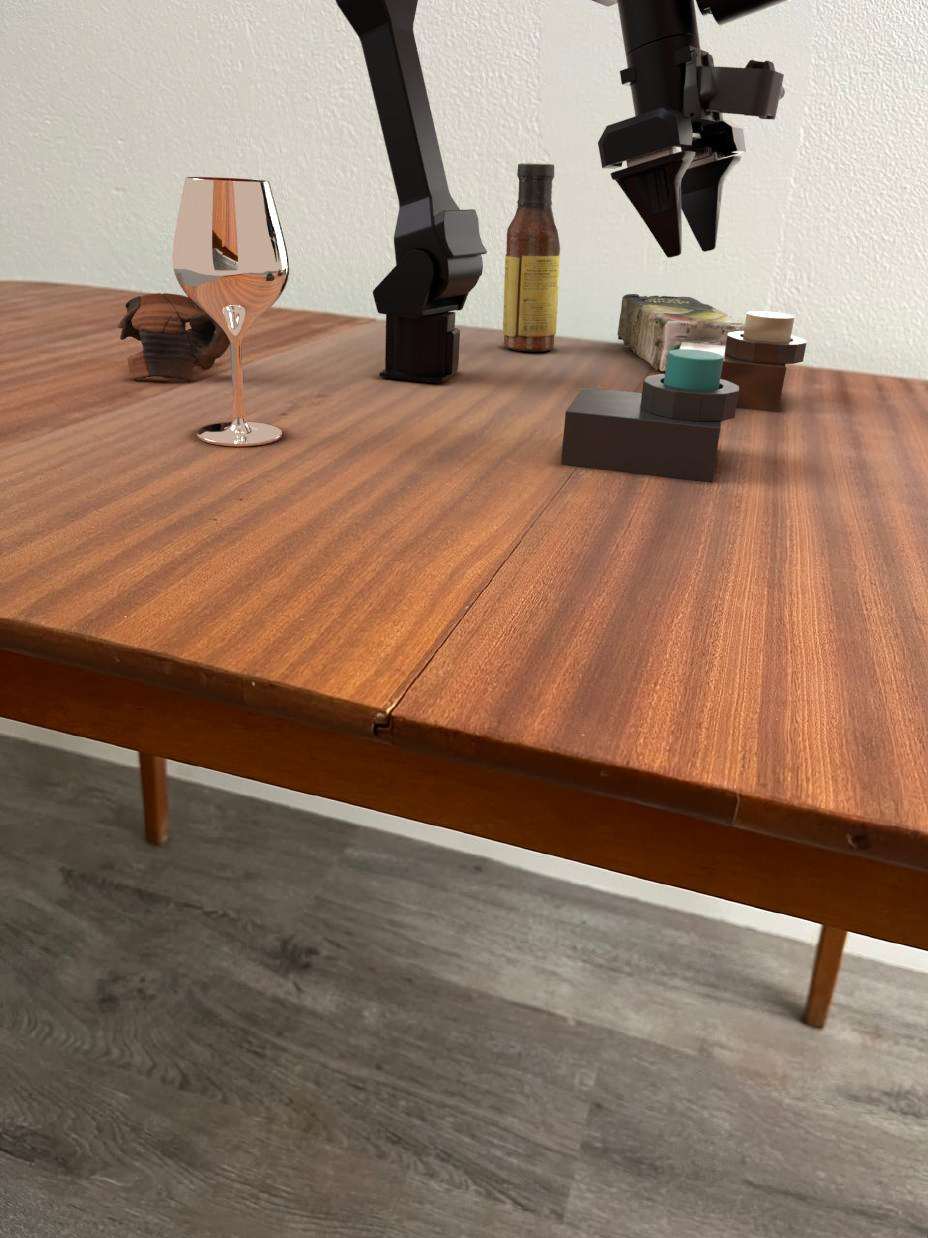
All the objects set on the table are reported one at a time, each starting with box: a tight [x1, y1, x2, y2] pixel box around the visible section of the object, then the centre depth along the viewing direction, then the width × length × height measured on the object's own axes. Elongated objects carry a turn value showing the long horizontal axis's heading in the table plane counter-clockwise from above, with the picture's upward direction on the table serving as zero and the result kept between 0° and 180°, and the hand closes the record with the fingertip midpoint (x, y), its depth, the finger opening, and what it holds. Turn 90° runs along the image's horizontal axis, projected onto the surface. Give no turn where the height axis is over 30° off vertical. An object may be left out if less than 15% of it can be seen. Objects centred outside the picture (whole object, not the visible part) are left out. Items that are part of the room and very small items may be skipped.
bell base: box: [680, 331, 808, 413], centre depth 96 cm, size 12×9×6 cm
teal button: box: [664, 349, 724, 391], centre depth 73 cm, size 4×4×2 cm
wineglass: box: [171, 176, 291, 447], centre depth 72 cm, size 8×8×18 cm
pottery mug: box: [117, 292, 230, 382], centre depth 94 cm, size 12×10×8 cm
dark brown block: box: [560, 373, 739, 483], centre depth 75 cm, size 12×9×6 cm
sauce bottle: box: [502, 162, 561, 353], centre depth 112 cm, size 6×6×20 cm
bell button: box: [743, 310, 795, 342], centre depth 94 cm, size 4×4×3 cm
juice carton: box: [617, 293, 745, 372], centre depth 114 cm, size 20×10×6 cm, turn 7°
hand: (692, 253), depth 82 cm, fingers open, 9 cm apart
